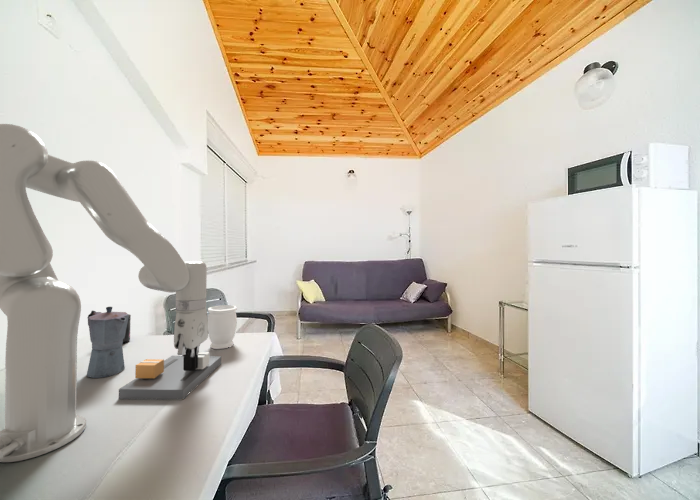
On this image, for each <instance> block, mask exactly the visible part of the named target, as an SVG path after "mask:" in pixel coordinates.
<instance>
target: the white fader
mask: <svg viewBox="0 0 700 500" xmlns="http://www.w3.org/2000/svg"><path fill="white" fill-rule="evenodd" d="M209 356H210V351H199V353H198V368H197V369H204V368H205V367H206V366H207V365H208V364H209Z"/></svg>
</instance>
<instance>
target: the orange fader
mask: <svg viewBox="0 0 700 500" xmlns="http://www.w3.org/2000/svg"><path fill="white" fill-rule="evenodd" d="M164 361H165V360H164V358H163V359H160V358H159V359H158V358H157V359H152V358H150V359H148V358H147V359H144V360H142V361H140V362H139V363H137V364H135V378H134V379H136V378H155V377H157V376H158V375H160V374H161V373H163V372H164Z"/></svg>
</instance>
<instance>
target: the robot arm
mask: <svg viewBox="0 0 700 500" xmlns="http://www.w3.org/2000/svg"><path fill="white" fill-rule="evenodd" d="M45 144H46V143H45V142H43V140H42V139H41V138H40V137H39V136H38V135H37V134H36V133H34V132H33V131H31V130H30V129H28V128H25V127H22V126H20V125H16V124H13V123H12V124H11V123H0V311H1V312H3V314H4V315H5V316H6V319H7V330H6V343H5V361H4V362H5V364H4V365H5V368H4V369H5V380H4V381H5V385H4V388H5V391H4V394H5V395H4V398H5V399H4V429H2V430H0V463H13V462H14V463H15V462H20V461H25V460H30V459H33V458H35V457H39V456H42V455H45V454H47V453H50V452H53V451H55V450H56V449H59V448H61V447H63V446H65V445H66V444H69V443H70V442H72V441H73V440H74V439H76V438H77V437H79V436H80V435H81V434H82V433H83V431H84V430H86V427H87V419H86V418H85V417H84V416H81V415H78V414H77V374H78V373H77V372H78V371H77V370H78V332H79V331H78V330H79V326H80V318H81V315H82V314H81V311H82V304H81V303H82V302H81V301H82V300H81V298H80V296H79V294H78V292H77V291H76V289H74V288H73V287H72V286H70V285H69V284H67V283H65V282H63V281H61V280H59V279H58V277H57V275H56V273H55V271H54V269H53V266H52V265H51V261H52V259H53V255H54V253H53V251H54V250H53V248H52V245H51V243H50V241H49V240H48V238H47V236H46V233H45V232H44V230H43V229H42V227H41V224H40V223H39V220H38V219H37V216H36V215H35V212H34V210H33V207H32V204H31V202H30V200H29V198H28V194H27V189H30V190H33V191H37V192H40V193H43V194H47V195H50V196H53V197H57V198H61V199H64V200H69V201H71V202H76V203H80V204H81V206H82V207H83V208H84V209H85V211H86V212H87V213H88V215H89V216H90V217H91V218H92V220H93V221H94V222H95V223H96V224H97V226H98V227H99V229H100V230H101V231H102V233H103V234H104V235H105V237H107V238H108V240H111V241H112V242H113V243H115V244H116V245H118V246H119V247H121V248H123V249H125V250H127V251H128V252H130V253H131V254H132V255H134V257H136V258H137V259H138V260H139V261H140V262H141V263H142V264H143V266H142V267H141V268H140V269H139V272H138V280H139V282H140V283H141V285H142V286H144V287H145V288H147V289H150V290H153V291H158V292H164V293H171V294H173V293H175V313H176V314H175V319H174V327H173V328H174V329H173V330H174V331H173V346H174V349H176V350H177V356H182V357H184V361H183V370H184V371H194V370H195V369H197V368H198V353H199V352H200V346H201V344H203V343H204V342H205V341H206V340H208V339H209V332H208V316H209V315H208V309H207V276H208V275H207V272H208V270H207V269H208V268H207V264H206V262H204V261H200V260H187V261H186V260H185V261H184V260H183V258H182V257H181V255H180V254H179V251H177V250H176V248H175V247H174V245H173V244H172V243H171V242H170V241H169V240H168V239H167V238H166V237H165V236H164V235H163V234H162V233H160V232H159V230H157V229H156V227H155V226H153V225H152V224H151V223H150V222H149V221H148V220H147V219H146V218H145V216H144V215H143V213H142V212H141V211H140V209H139V207H138V206H137V205H136V203H135V201H134V200H133V199H132V197H131V195H130V194H129V193H128V191H127V190H126V188H125V186H124V185H123V184H122V182H121V181H120V180H119V178H118V177H117V175H116V174H115V173H114V171H113V170H112V169H111V168H110V167H108V166H107V165H106V164H105V163H103V162H99V161H97V160H96V161H95V160H81V161H75V162H69V161H67V160H64V159H61V158H59V157H56V156H53V155H52V154H48V153H49V152H48V149H47V147H46V145H45Z"/></svg>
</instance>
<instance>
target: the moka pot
mask: <svg viewBox="0 0 700 500" xmlns="http://www.w3.org/2000/svg"><path fill="white" fill-rule="evenodd" d="M105 310H106V311H105V312H101V311H95V310H91V312H90V313H89V314H88V315H87V318H86V319H87V326H88V330H89V340H90V342H91V353H90V358H89V363H88V367H87V371H86V377H88V378H92V379H100V378H108V377H112V376H115V375H117V374H119V373H121V372H122V371H124V370H125V367H126V365H125V360H124V350H123V345H124V344H123V339H124V338H125V333H126V327H127V323H128V318H129V315H130V314H129V315H128V313H127V312H126V311H113V306H107V307H105Z"/></svg>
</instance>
